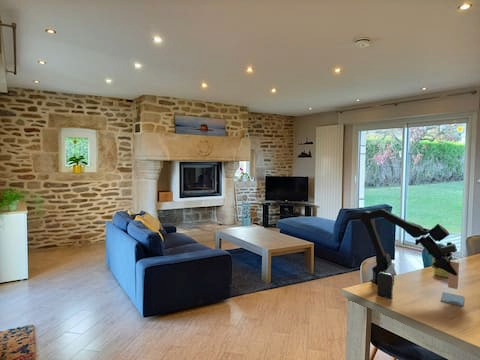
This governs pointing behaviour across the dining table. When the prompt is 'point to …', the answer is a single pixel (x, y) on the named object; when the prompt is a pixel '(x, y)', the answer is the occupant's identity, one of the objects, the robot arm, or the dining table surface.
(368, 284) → the dining table surface
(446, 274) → the chocolate bunny
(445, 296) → the mat
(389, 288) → the battery charger
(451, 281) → the block
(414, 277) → the dining table surface
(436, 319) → the dining table surface
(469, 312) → the dining table surface
